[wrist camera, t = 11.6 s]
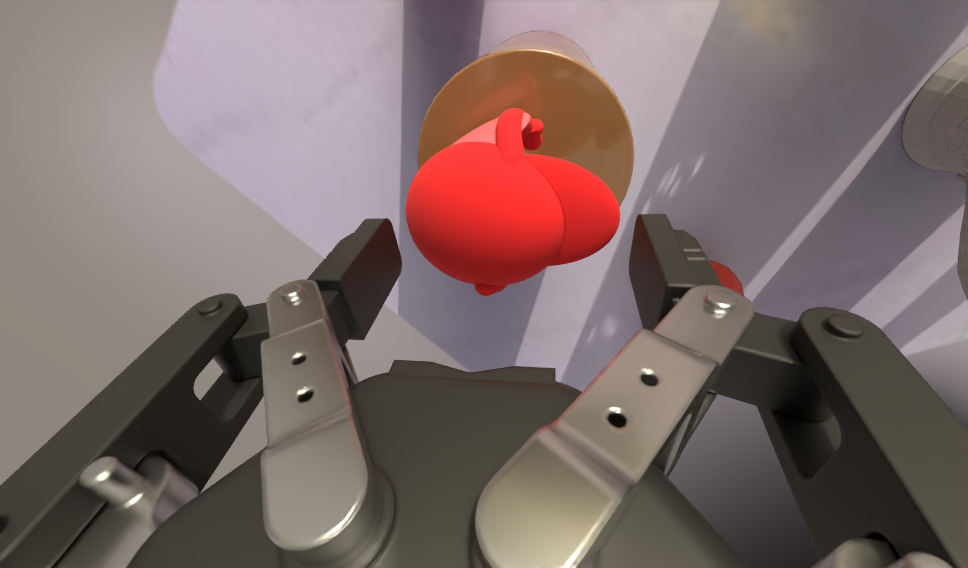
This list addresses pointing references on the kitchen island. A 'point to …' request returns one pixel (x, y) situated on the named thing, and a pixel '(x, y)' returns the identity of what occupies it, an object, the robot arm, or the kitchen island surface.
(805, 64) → the kitchen island surface
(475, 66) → the jar
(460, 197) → the cap
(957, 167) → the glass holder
